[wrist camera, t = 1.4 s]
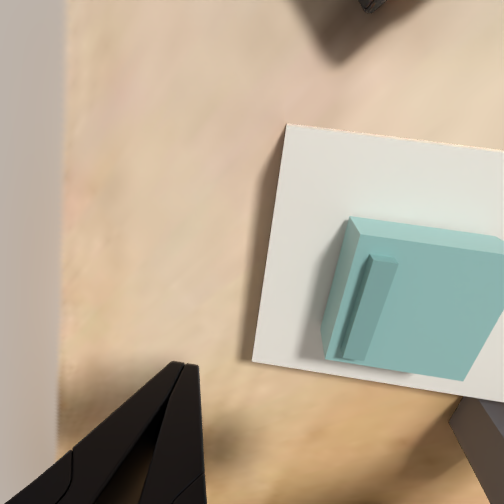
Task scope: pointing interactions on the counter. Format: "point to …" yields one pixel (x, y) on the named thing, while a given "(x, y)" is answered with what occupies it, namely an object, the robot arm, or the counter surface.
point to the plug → (482, 442)
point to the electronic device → (371, 5)
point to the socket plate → (372, 207)
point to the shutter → (413, 298)
